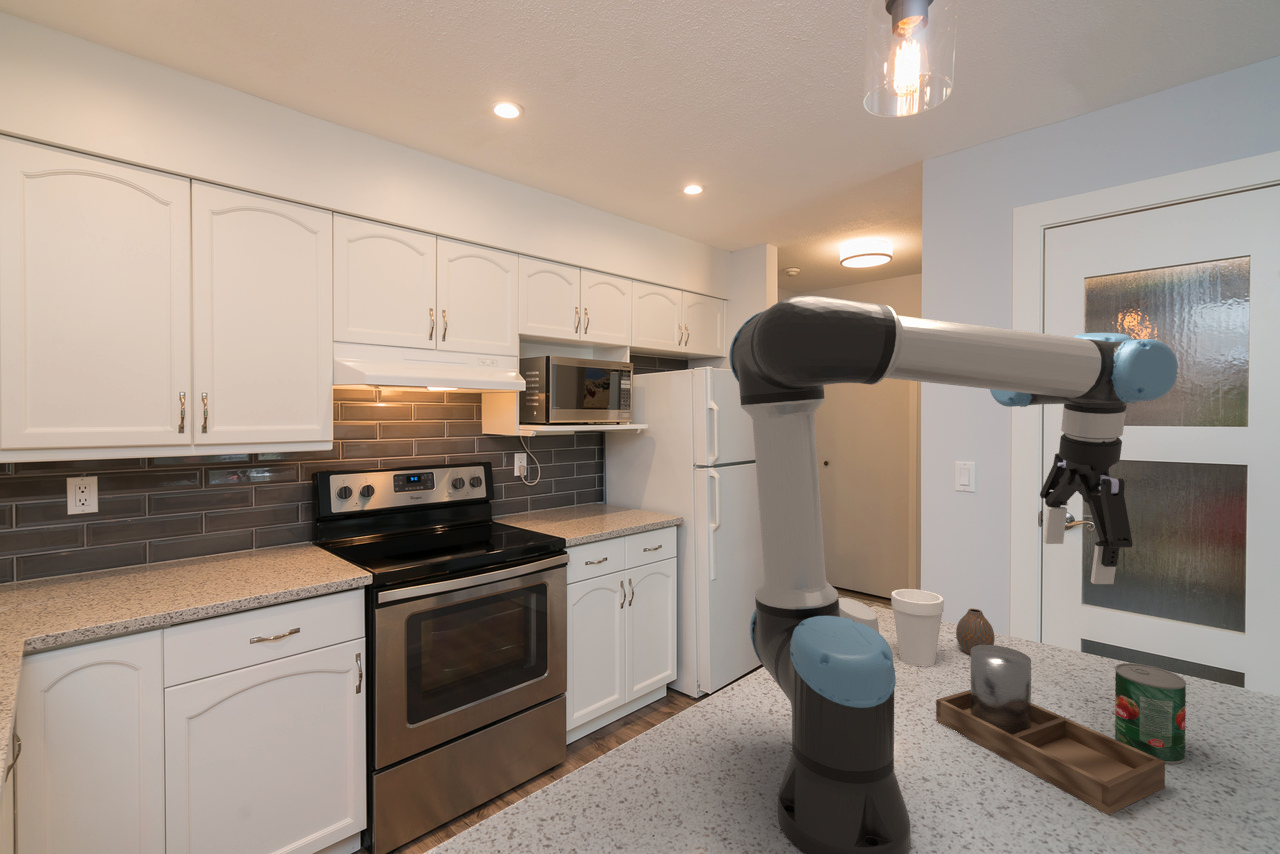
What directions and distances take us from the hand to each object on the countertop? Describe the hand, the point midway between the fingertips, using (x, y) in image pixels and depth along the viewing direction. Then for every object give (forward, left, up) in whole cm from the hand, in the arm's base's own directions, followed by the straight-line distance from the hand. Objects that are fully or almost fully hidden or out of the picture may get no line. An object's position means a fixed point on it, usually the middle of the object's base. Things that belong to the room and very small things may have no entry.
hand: (1076, 561), depth 95 cm
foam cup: (+9, +25, -25) cm, 37 cm away
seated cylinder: (-12, +10, -25) cm, 30 cm away
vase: (+20, +16, -26) cm, 36 cm away
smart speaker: (-5, +33, -26) cm, 42 cm away
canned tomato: (-5, -9, -26) cm, 27 cm away
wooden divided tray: (-15, +4, -25) cm, 30 cm away
